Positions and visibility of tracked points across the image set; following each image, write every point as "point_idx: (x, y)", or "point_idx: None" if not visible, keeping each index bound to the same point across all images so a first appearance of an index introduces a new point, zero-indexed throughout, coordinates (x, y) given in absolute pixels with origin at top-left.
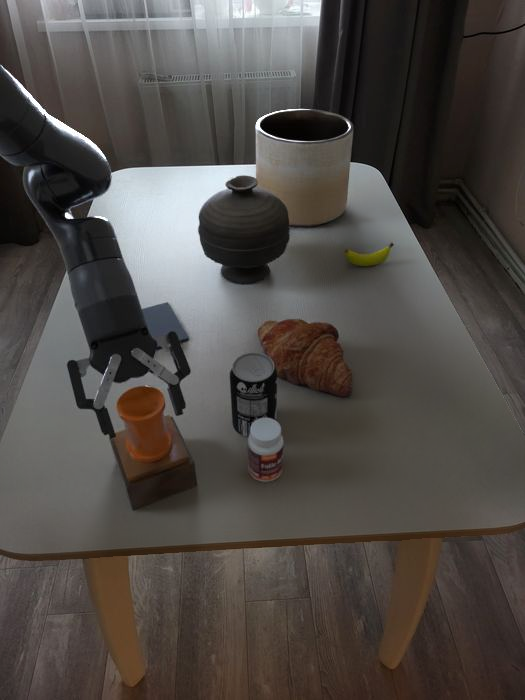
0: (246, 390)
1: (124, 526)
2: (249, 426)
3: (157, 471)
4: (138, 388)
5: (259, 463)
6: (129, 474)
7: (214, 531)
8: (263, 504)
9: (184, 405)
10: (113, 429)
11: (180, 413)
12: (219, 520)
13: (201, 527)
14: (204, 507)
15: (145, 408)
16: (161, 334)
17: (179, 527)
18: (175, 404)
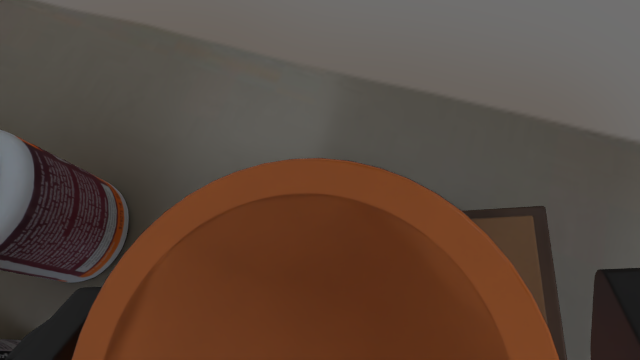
0: None
1: (563, 193)
2: (2, 354)
3: None
4: None
5: (60, 162)
6: (521, 235)
7: (300, 88)
8: (151, 123)
9: (39, 328)
10: (620, 295)
11: (100, 288)
12: (275, 115)
13: (329, 111)
14: None
15: (271, 293)
16: None
17: (388, 130)
18: (69, 330)
